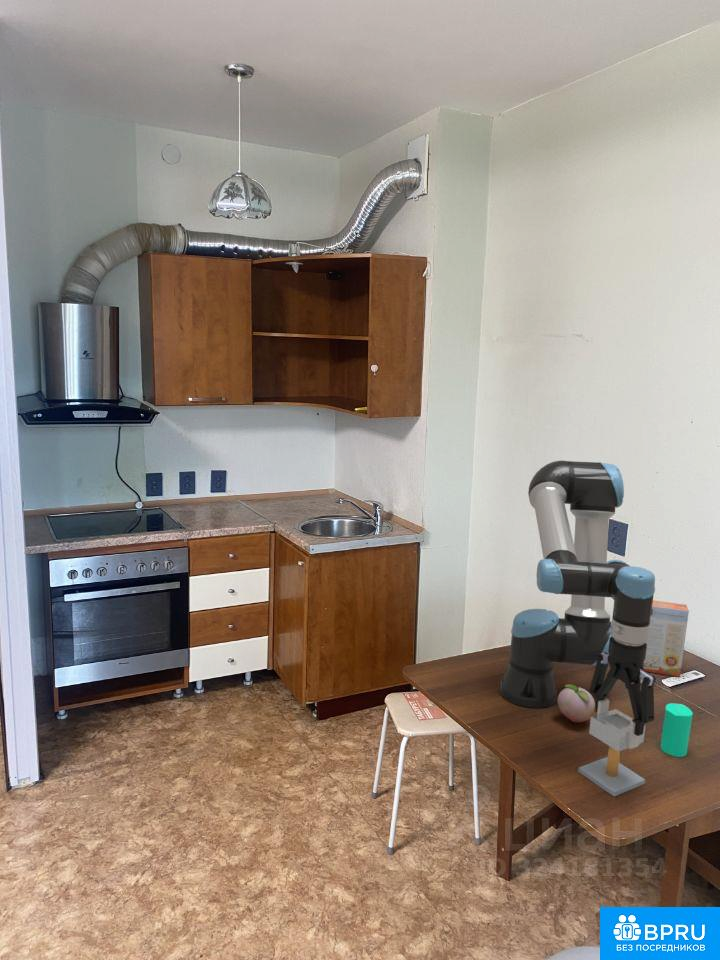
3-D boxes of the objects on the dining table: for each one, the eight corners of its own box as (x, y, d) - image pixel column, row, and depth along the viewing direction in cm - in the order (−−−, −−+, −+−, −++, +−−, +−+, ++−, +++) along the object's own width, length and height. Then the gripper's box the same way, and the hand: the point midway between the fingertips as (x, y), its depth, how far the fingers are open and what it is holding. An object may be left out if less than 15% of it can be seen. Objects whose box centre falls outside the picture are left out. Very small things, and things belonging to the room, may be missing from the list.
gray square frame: (589, 733, 158) (591, 716, 157) (613, 725, 162) (615, 709, 161) (618, 751, 151) (620, 734, 150) (643, 742, 155) (645, 725, 154)
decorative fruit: (600, 726, 180) (604, 689, 178) (578, 734, 176) (582, 697, 174) (571, 709, 188) (575, 674, 186) (549, 716, 183) (553, 680, 181)
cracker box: (678, 669, 214) (687, 603, 210) (680, 678, 209) (689, 610, 205) (628, 661, 218) (636, 596, 214) (629, 669, 213) (637, 603, 209)
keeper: (578, 771, 160) (581, 743, 159) (608, 760, 165) (612, 732, 164) (613, 796, 152) (617, 767, 150) (644, 783, 157) (648, 755, 155)
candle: (664, 739, 175) (670, 694, 173) (690, 749, 171) (697, 703, 169) (656, 749, 170) (663, 703, 168) (683, 759, 167) (689, 712, 164)
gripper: (578, 624, 159) (568, 718, 163) (658, 662, 141) (645, 766, 146) (602, 619, 163) (591, 711, 167) (682, 655, 145) (668, 756, 149)
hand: (616, 736), depth 156 cm, fingers closed on gray square frame, 8 cm apart
